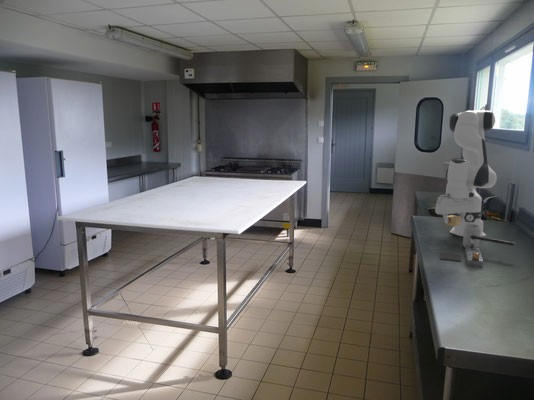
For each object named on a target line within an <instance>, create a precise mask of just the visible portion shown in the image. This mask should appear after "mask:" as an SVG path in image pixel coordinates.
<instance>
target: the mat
mask: <svg viewBox="0 0 534 400" xmlns="http://www.w3.org/2000/svg"><path fill="white" fill-rule="evenodd" d="M439 260H442V261H451V262H457V263H462V258H461V254H459V253H450V252H449V253H448V252H440V253H439Z"/></svg>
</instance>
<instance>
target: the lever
mask: <svg viewBox="0 0 534 400" xmlns="http://www.w3.org/2000/svg"><path fill="white" fill-rule="evenodd" d="M470 238H472V239H478V240H479V241H484V242H490V243H496V244H503V245H509V246H515V245H516V242H515V241H508V240H503V239H496V238H491V237H487V236H483V237H480V236H475V235H471V237H470Z"/></svg>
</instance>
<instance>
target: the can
mask: <svg viewBox="0 0 534 400" xmlns="http://www.w3.org/2000/svg"><path fill="white" fill-rule="evenodd" d="M479 227H480V226H478V225H474V224H467V225H466V227H464V236H462V237H463V239H462V246H463V248H465V246H471V239H472V238H470V237H471V235H475V236H480V231H481V229H480V228H479ZM474 246H475V247H479V248H480V240H478V239H475V240H474Z"/></svg>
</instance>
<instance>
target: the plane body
mask: <svg viewBox="0 0 534 400" xmlns="http://www.w3.org/2000/svg"><path fill="white" fill-rule="evenodd" d="M474 240H475V239H471V246H465V247H464V248H465V249H464V253H465V259H466V264H467V267H471V266H472V267H473V268H479V269H480V268H481V269H483V268H484V260H483V257H482V253H481V252H482V251H481V249H480V246H479V247H475V246H474Z"/></svg>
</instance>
